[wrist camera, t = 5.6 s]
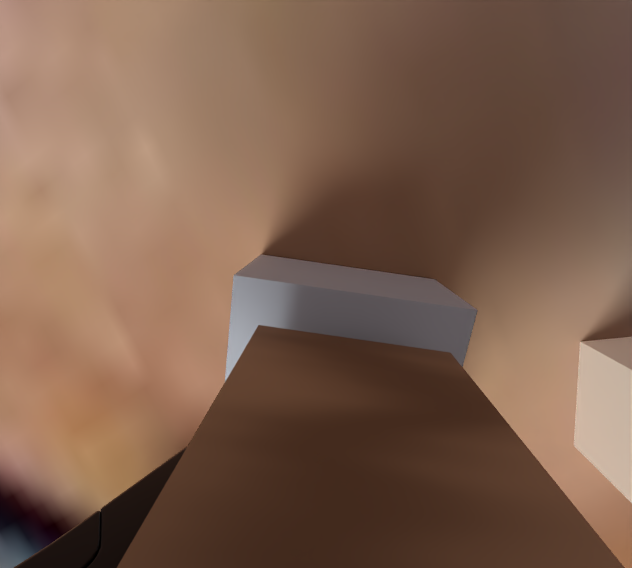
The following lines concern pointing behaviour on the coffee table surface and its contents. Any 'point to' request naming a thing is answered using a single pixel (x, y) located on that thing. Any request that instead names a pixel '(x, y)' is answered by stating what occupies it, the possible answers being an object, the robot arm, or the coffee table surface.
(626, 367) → the cream block
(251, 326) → the light gray block
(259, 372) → the walnut block
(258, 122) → the coffee table surface
